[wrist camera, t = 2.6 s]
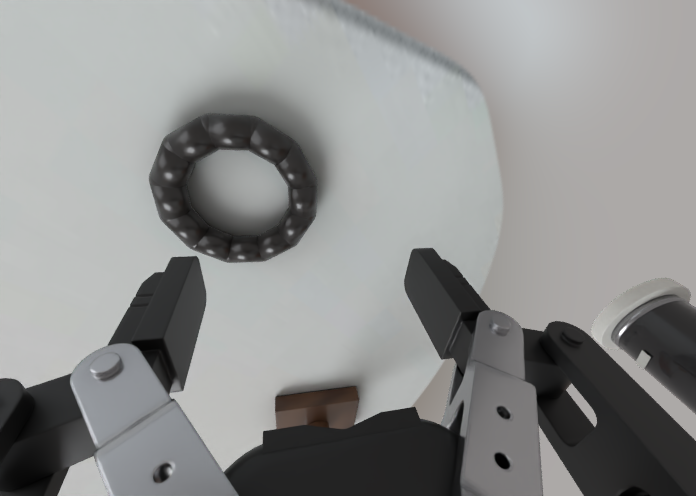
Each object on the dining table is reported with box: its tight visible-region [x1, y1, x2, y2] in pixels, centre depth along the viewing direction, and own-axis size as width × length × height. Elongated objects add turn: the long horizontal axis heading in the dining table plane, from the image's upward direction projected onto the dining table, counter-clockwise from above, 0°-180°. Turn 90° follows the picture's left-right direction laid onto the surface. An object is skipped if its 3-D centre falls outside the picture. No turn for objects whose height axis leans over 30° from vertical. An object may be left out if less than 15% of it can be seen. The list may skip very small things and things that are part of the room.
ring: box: [149, 114, 317, 263], centre depth 16 cm, size 8×8×2 cm
